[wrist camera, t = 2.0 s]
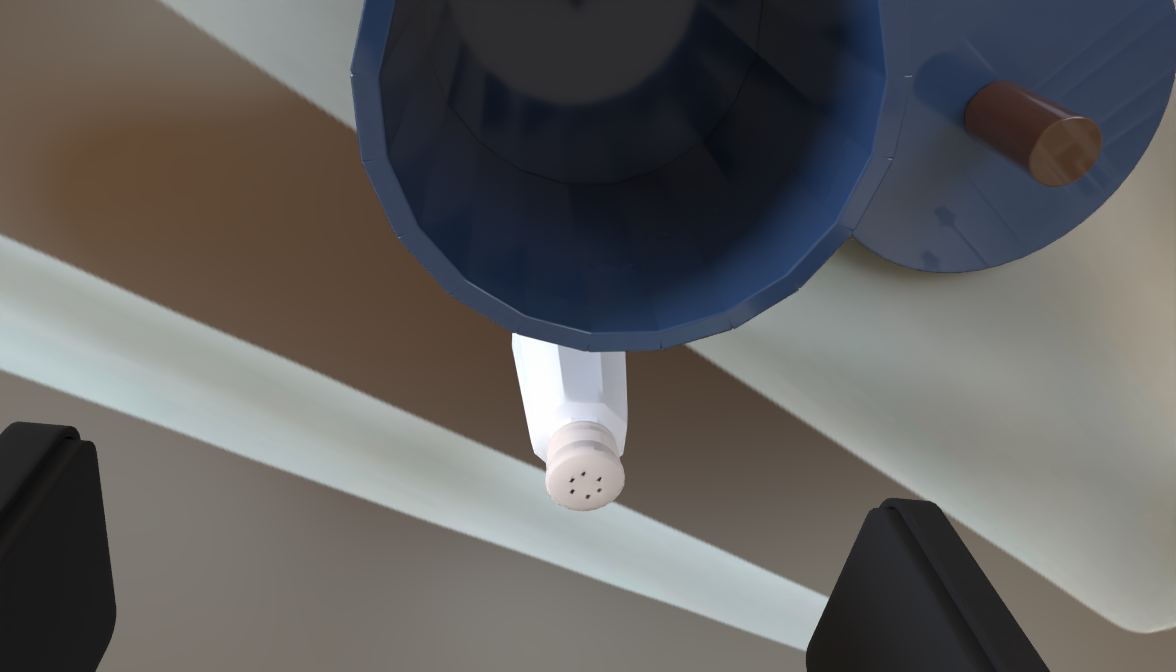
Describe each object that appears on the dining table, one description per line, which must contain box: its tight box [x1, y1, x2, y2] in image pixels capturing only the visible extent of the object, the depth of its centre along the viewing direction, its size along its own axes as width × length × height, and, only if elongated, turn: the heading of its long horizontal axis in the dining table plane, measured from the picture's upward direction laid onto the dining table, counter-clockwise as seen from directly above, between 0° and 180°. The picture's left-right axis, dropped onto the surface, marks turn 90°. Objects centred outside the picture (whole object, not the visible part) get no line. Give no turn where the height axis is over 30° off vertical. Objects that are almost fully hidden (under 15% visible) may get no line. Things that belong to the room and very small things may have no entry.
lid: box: [852, 0, 1176, 273], centre depth 32 cm, size 15×15×6 cm
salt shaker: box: [512, 333, 627, 511], centre depth 34 cm, size 5×5×11 cm
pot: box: [350, 0, 913, 352], centre depth 26 cm, size 14×14×12 cm
